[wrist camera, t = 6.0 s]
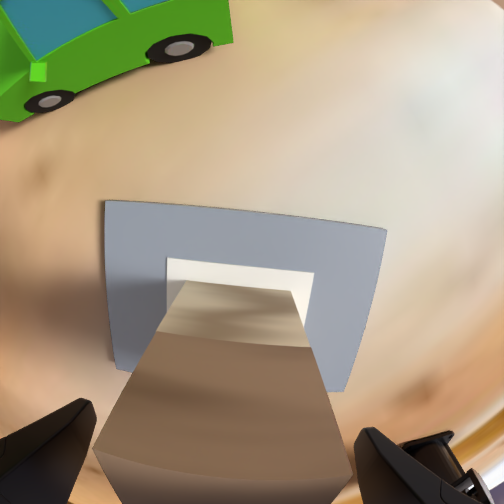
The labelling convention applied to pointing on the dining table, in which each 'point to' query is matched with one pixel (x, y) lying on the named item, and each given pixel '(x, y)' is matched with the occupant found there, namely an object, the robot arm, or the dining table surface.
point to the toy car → (95, 44)
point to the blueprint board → (240, 272)
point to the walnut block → (223, 427)
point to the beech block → (235, 315)
